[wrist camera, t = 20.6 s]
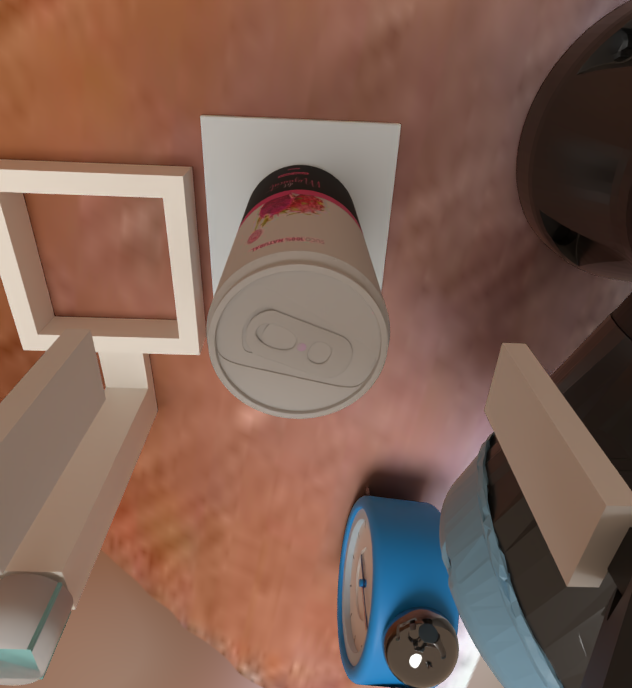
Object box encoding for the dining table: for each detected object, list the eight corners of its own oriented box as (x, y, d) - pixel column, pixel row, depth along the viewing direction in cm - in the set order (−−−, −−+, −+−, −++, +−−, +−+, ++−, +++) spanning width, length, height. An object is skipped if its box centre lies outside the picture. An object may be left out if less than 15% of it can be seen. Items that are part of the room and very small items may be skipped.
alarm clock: (364, 459, 41) (389, 647, 28) (436, 468, 42) (492, 657, 29) (333, 558, 48) (341, 748, 35) (395, 565, 48) (426, 754, 35)
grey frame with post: (192, 166, 29) (90, 271, 16) (212, 412, 38) (160, 610, 25) (-7, 158, 29) (-288, 258, 15) (62, 408, 38) (-73, 607, 25)
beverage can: (271, 143, 28) (242, 225, 15) (374, 192, 29) (429, 305, 16) (231, 245, 31) (178, 387, 18) (326, 285, 32) (341, 443, 19)
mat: (399, 123, 28) (401, 124, 27) (378, 300, 34) (379, 303, 33) (202, 114, 28) (200, 116, 27) (214, 294, 33) (213, 298, 33)
